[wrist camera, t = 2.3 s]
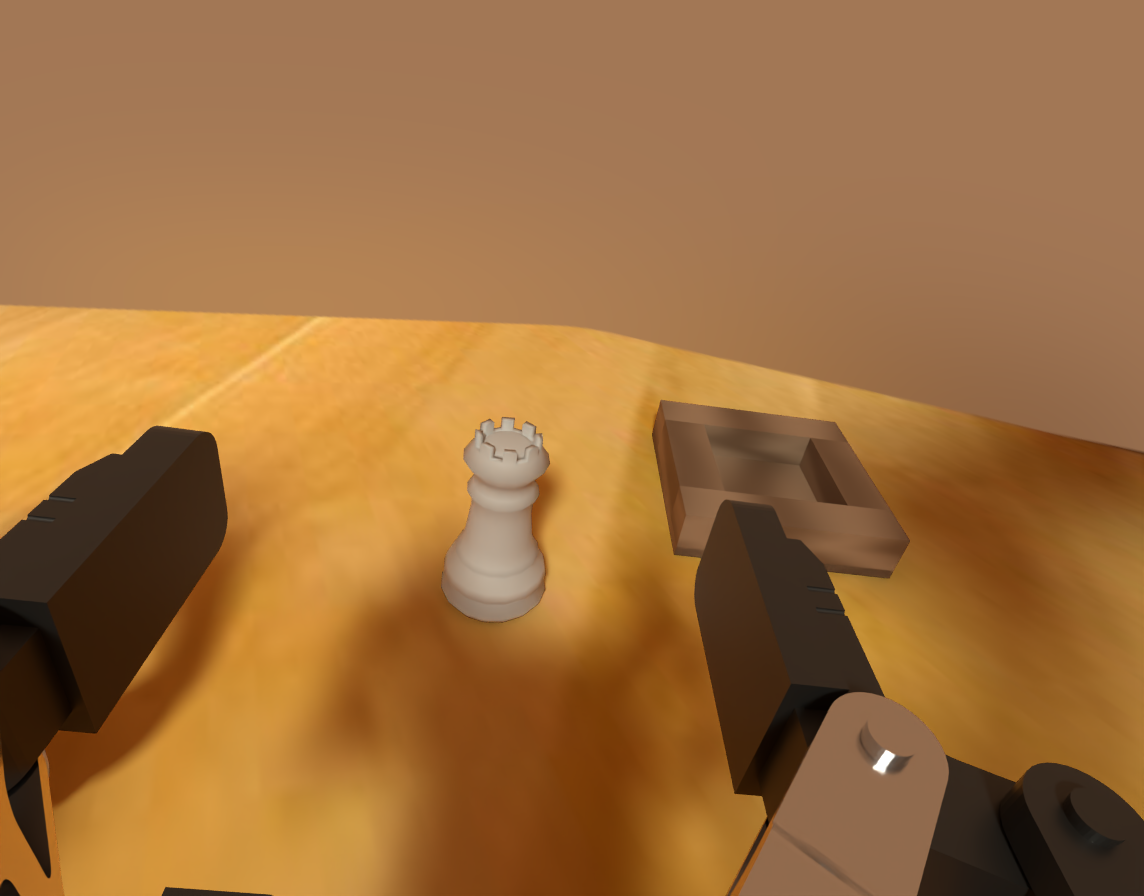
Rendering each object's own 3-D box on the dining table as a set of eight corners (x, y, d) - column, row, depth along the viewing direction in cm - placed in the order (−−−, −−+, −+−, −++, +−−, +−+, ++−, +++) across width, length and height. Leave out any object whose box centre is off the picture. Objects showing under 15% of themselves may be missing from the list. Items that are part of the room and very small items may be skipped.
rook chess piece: (428, 619, 27) (433, 458, 23) (454, 546, 31) (463, 396, 26) (536, 637, 27) (563, 480, 23) (549, 562, 31) (574, 415, 26)
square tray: (821, 455, 42) (835, 422, 41) (889, 578, 33) (910, 540, 32) (652, 434, 42) (660, 399, 40) (674, 554, 32) (686, 514, 31)
